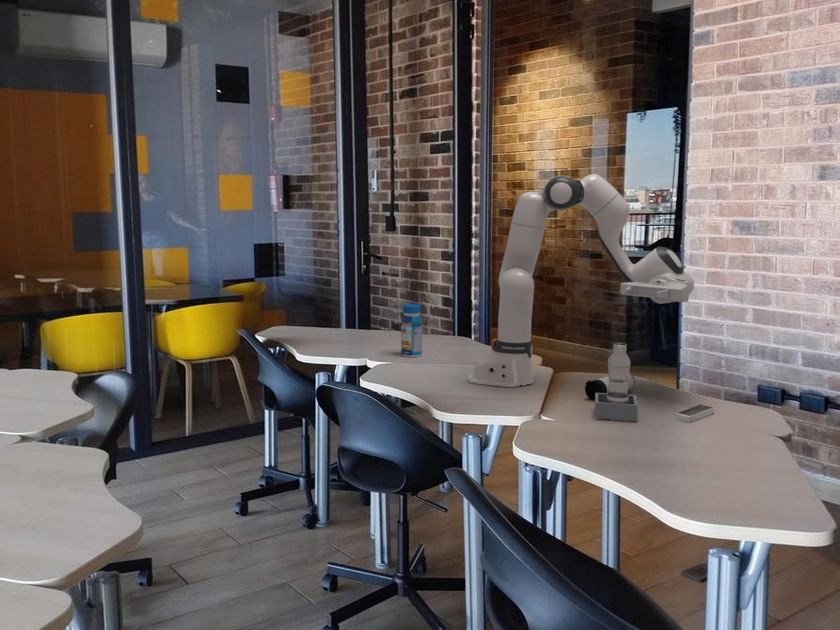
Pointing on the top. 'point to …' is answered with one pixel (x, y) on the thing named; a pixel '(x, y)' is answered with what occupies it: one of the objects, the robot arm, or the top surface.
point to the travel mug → (604, 386)
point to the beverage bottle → (411, 331)
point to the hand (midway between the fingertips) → (641, 293)
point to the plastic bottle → (618, 375)
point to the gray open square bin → (615, 408)
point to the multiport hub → (694, 413)
